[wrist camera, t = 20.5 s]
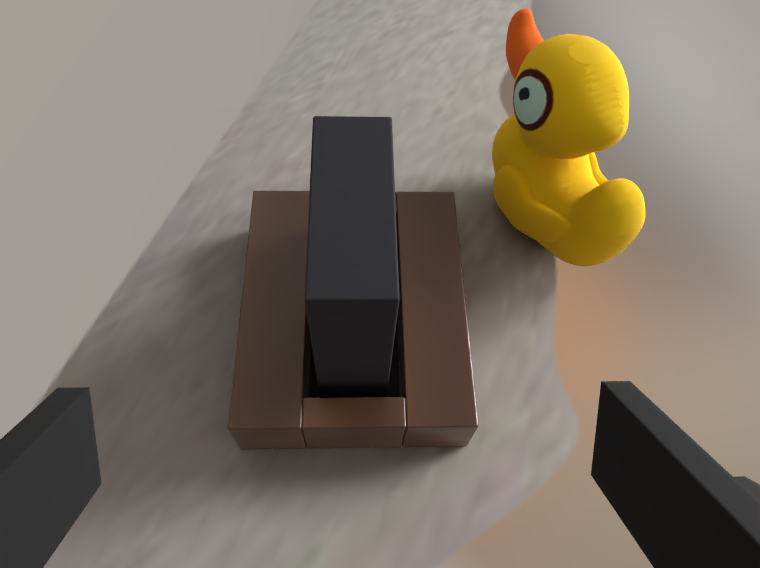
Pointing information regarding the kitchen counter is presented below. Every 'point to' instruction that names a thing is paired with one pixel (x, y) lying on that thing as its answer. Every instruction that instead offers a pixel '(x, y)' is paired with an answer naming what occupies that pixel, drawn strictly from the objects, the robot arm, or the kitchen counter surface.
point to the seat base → (292, 338)
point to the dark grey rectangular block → (352, 255)
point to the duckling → (565, 146)
